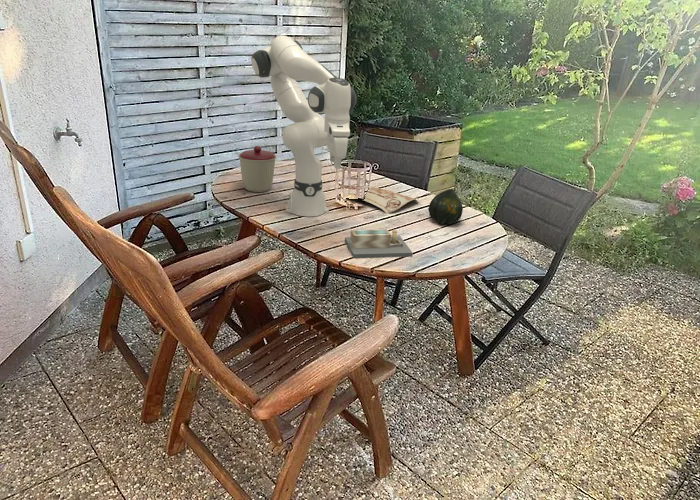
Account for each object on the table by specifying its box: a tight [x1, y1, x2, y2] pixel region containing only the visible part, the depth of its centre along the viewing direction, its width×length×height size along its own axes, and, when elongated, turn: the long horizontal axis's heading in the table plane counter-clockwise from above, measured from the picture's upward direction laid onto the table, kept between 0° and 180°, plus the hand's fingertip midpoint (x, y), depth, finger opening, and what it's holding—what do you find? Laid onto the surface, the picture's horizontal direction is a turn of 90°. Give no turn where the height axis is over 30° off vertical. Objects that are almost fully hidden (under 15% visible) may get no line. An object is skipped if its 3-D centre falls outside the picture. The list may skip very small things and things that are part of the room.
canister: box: [237, 145, 278, 193], centre depth 252 cm, size 18×18×21 cm
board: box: [344, 229, 414, 259], centre depth 196 cm, size 16×22×7 cm
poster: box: [363, 186, 419, 214], centre depth 252 cm, size 28×6×30 cm
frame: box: [349, 229, 403, 248], centre depth 196 cm, size 19×6×5 cm, turn 102°
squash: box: [427, 188, 464, 225], centre depth 228 cm, size 14×15×15 cm
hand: (334, 165), depth 192 cm, fingers open, 8 cm apart
